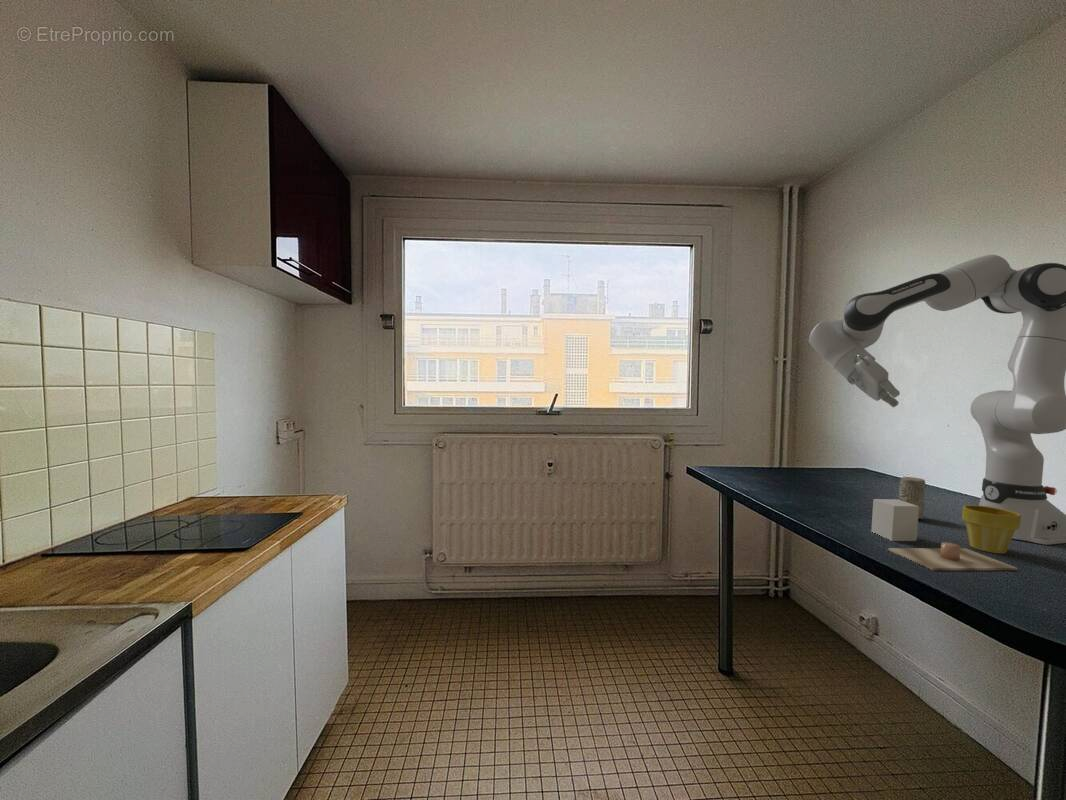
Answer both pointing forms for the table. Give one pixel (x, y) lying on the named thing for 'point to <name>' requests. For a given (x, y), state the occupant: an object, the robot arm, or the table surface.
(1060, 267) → the robot arm
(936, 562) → the cork mat
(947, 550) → the brown rounded block
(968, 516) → the plant pot
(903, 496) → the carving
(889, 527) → the plain grey box
